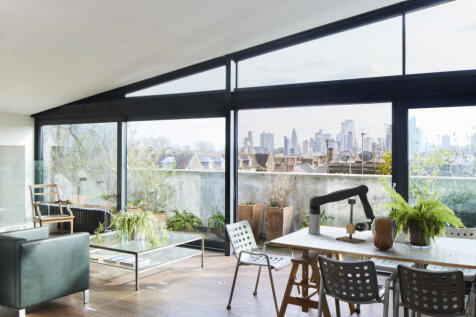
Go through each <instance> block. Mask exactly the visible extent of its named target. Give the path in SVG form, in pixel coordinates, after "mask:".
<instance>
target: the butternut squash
mask: <svg viewBox="0 0 476 317" xmlns="http://www.w3.org/2000/svg"><path fill="white" fill-rule="evenodd" d="M375 218H376V220H375V229H374V231H375V235H374V237H373V244H374V247H376V249H378V250H381V251H383V252H386V251H387V252H388V251H389V250H391V248H392V247H393V246H394V240H393V235H392V232H393V229H392V228H393V223H392V219H391V217H388V216H381V215H380V216H376V217H375Z"/></svg>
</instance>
